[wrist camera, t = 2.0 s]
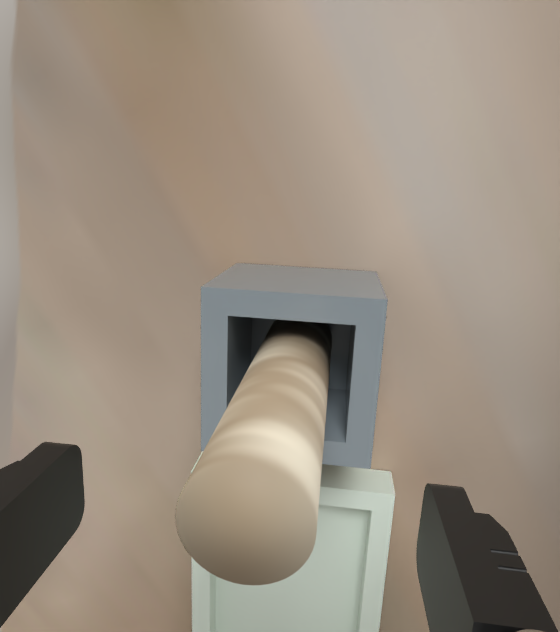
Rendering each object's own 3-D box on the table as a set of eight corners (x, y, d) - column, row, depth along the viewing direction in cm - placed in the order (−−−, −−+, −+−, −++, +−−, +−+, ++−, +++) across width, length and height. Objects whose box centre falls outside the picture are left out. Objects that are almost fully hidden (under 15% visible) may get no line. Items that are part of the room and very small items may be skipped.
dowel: (334, 311, 22) (321, 470, 9) (329, 372, 23) (311, 594, 10) (269, 306, 22) (174, 454, 10) (267, 367, 23) (176, 575, 11)
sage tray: (391, 471, 25) (395, 495, 23) (364, 706, 29) (365, 743, 27) (202, 451, 26) (190, 471, 24) (202, 679, 30) (192, 713, 28)
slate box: (376, 271, 22) (387, 299, 16) (363, 402, 24) (370, 469, 18) (236, 262, 23) (201, 286, 17) (234, 390, 25) (201, 450, 19)
